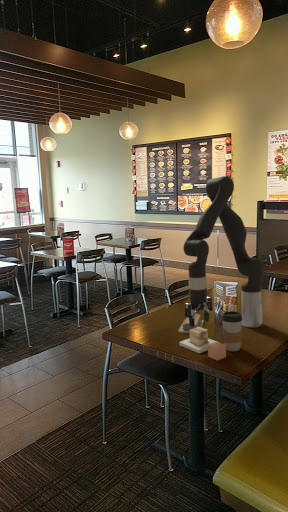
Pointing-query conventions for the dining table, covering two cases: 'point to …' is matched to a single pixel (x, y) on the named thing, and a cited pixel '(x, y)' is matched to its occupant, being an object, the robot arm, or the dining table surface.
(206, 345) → the plate
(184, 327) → the packaged product
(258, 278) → the robot arm
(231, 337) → the coffee cup
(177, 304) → the dining table surface
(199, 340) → the maple block
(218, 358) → the terracotta block
